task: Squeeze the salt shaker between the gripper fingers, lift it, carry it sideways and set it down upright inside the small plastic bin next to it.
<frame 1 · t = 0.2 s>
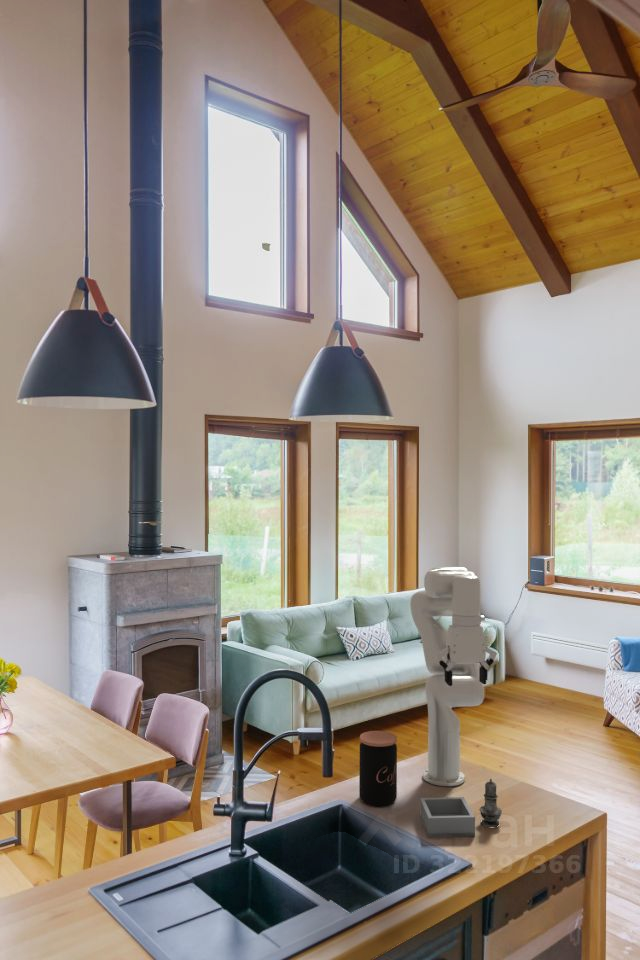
hand: (465, 683, 208), 36 cm above the countertop, tool pointing down, fingers open, 9 cm apart
bin: (446, 826, 202), on the countertop
coffee jar: (377, 800, 218), on the countertop
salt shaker: (490, 824, 204), on the countertop
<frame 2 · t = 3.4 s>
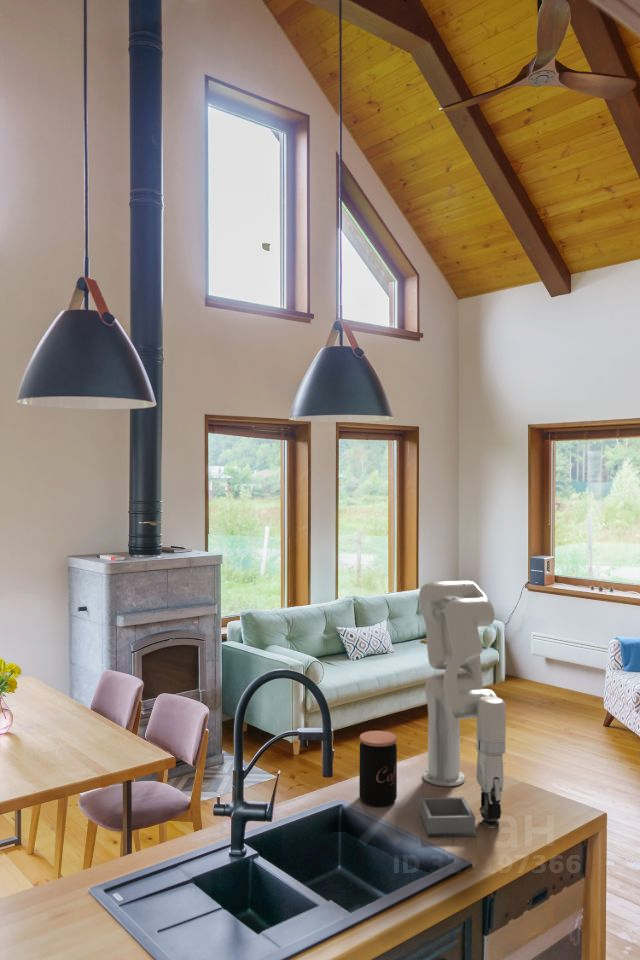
hand: (490, 811, 204), 3 cm above the countertop, tool pointing down, fingers closed on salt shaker, 5 cm apart
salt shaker: (490, 824, 204), on the countertop, touching gripper
everything else where it was.
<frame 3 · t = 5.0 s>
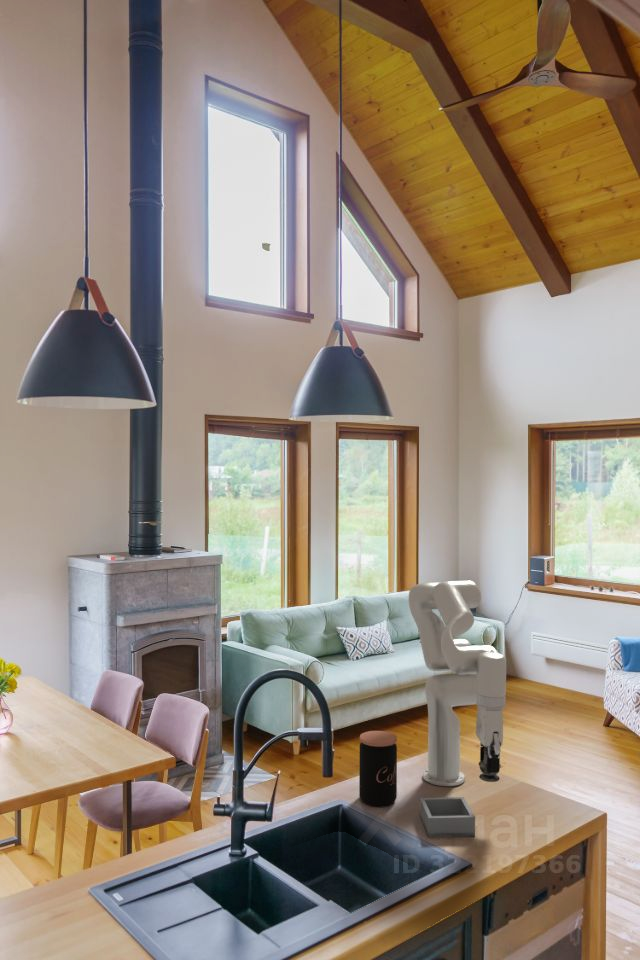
hand: (489, 766, 204), 15 cm above the countertop, tool pointing down, fingers closed on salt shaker, 5 cm apart
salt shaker: (489, 778, 204), point 12 cm above the countertop, touching gripper
everything else where it was.
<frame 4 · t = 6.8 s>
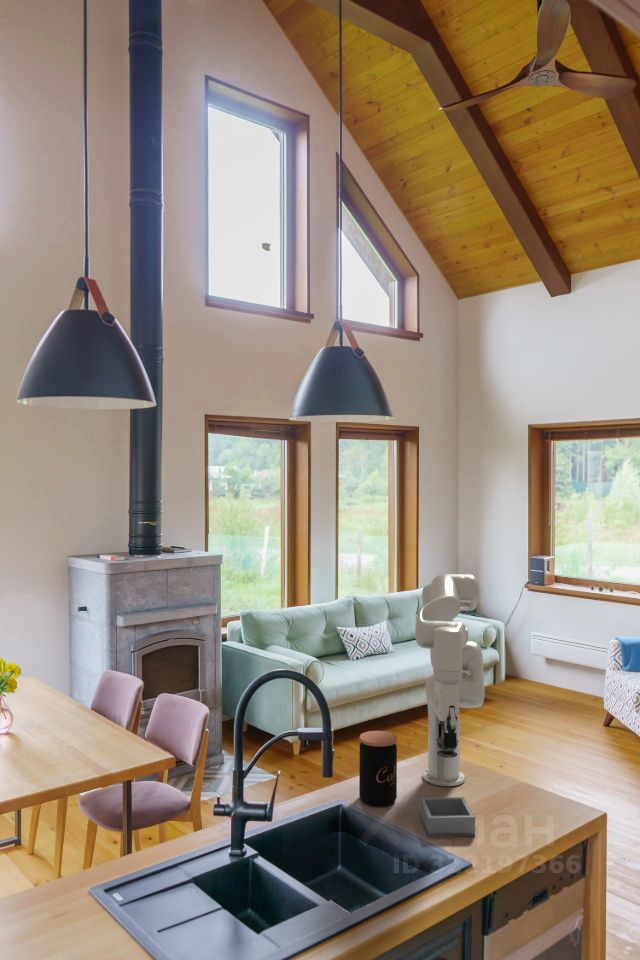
hand: (447, 742, 202), 22 cm above the countertop, tool pointing down, fingers closed on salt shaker, 5 cm apart
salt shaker: (447, 754, 202), point 19 cm above the countertop, touching gripper
everything else where it was.
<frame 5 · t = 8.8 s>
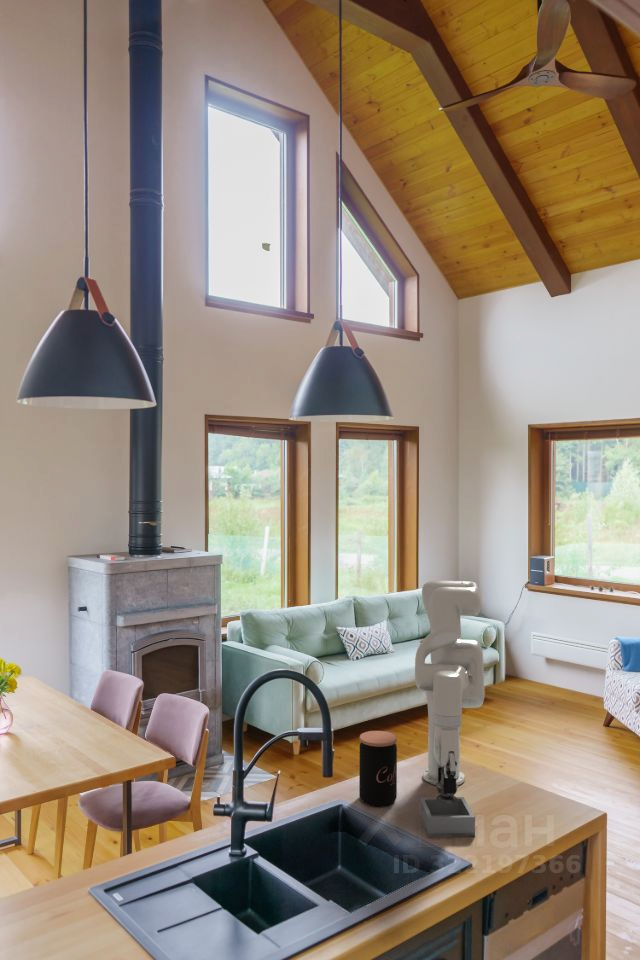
hand: (446, 787, 202), 10 cm above the countertop, tool pointing down, fingers closed on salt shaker, 5 cm apart
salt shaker: (446, 799, 202), point 7 cm above the countertop, touching gripper
everything else where it was.
when the fingers open (5 cm above the countertop, at t = 10.3 s): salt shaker drops 1 cm, resting on bin.
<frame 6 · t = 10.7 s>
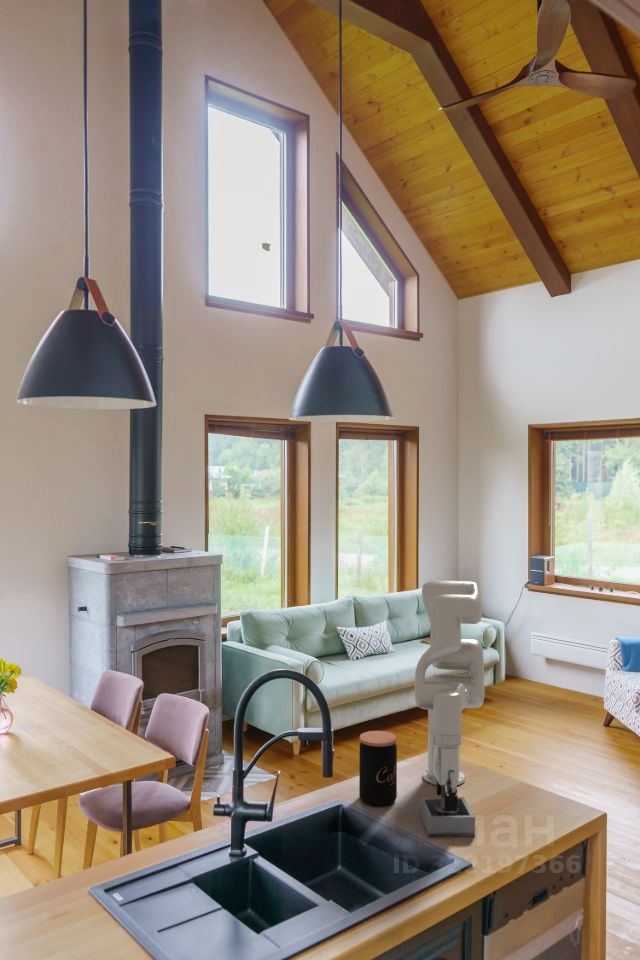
hand: (446, 802, 202), 6 cm above the countertop, tool pointing down, fingers open, 9 cm apart
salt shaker: (446, 822, 202), point 1 cm above the countertop, touching bin
everything else where it was.
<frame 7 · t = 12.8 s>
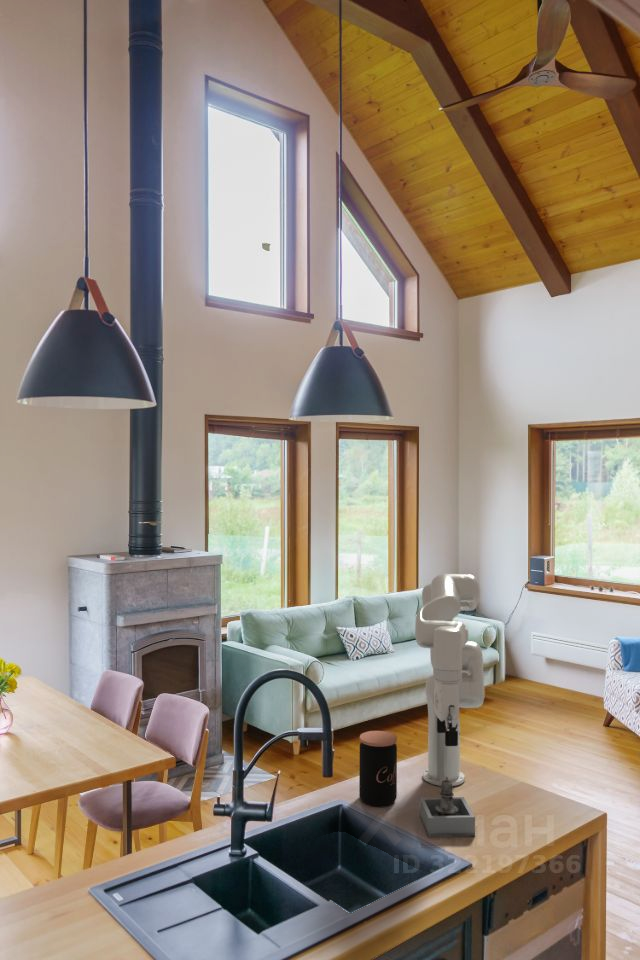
hand: (447, 739, 202), 23 cm above the countertop, tool pointing down, fingers open, 9 cm apart
nothing on the countertop moved.
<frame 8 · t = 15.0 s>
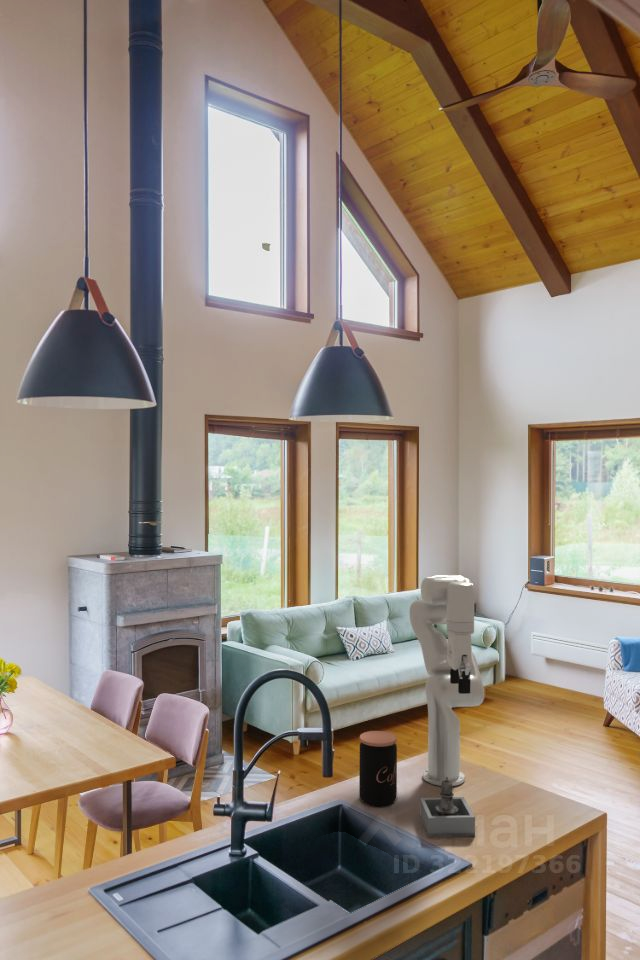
hand: (460, 688, 213), 33 cm above the countertop, tool pointing down, fingers open, 9 cm apart
nothing on the countertop moved.
at the end: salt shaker inside the target area on the bin (0.2 cm from its centre), point 0.8 cm above the bin's base; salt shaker tilted 0°; the gripper is holding nothing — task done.
